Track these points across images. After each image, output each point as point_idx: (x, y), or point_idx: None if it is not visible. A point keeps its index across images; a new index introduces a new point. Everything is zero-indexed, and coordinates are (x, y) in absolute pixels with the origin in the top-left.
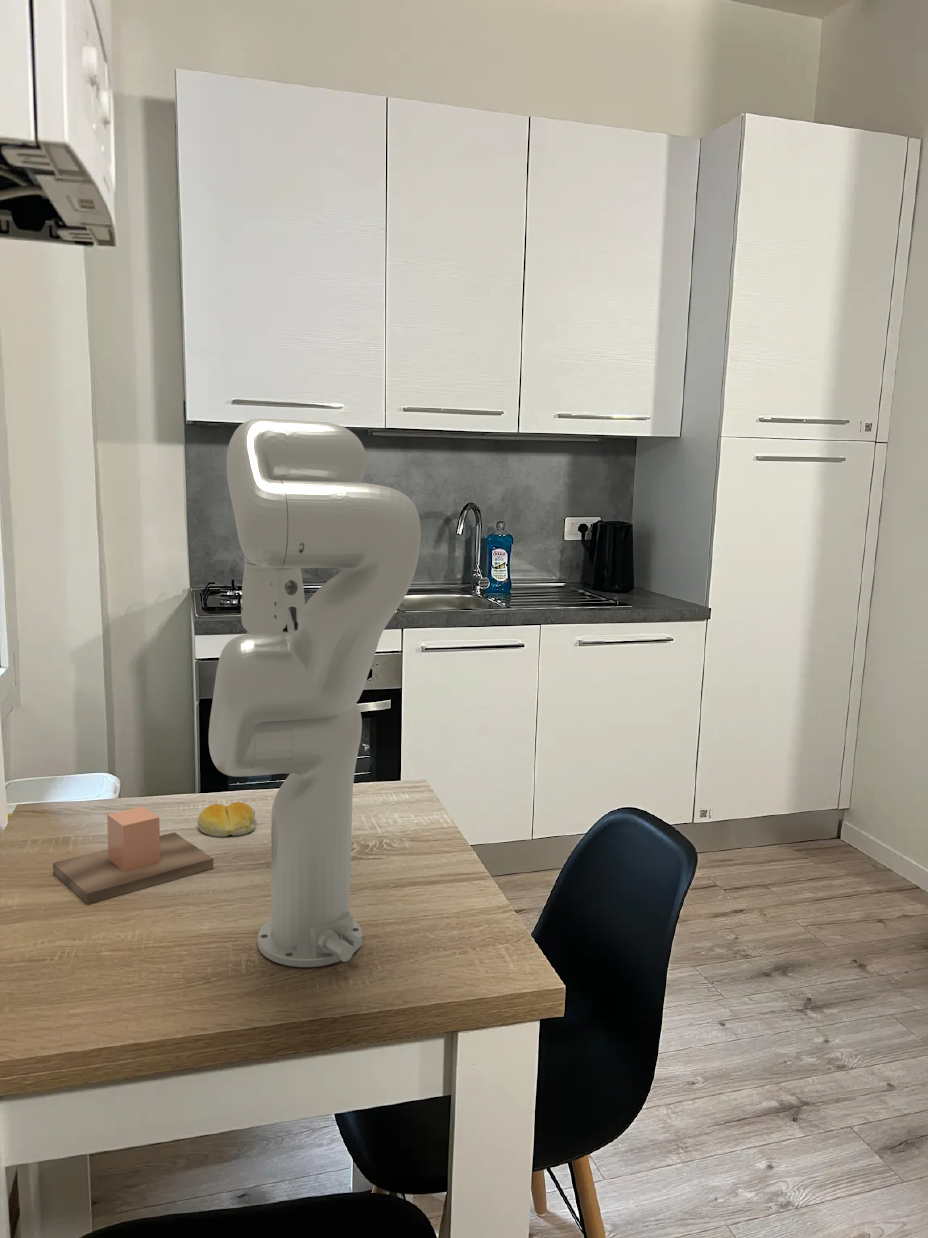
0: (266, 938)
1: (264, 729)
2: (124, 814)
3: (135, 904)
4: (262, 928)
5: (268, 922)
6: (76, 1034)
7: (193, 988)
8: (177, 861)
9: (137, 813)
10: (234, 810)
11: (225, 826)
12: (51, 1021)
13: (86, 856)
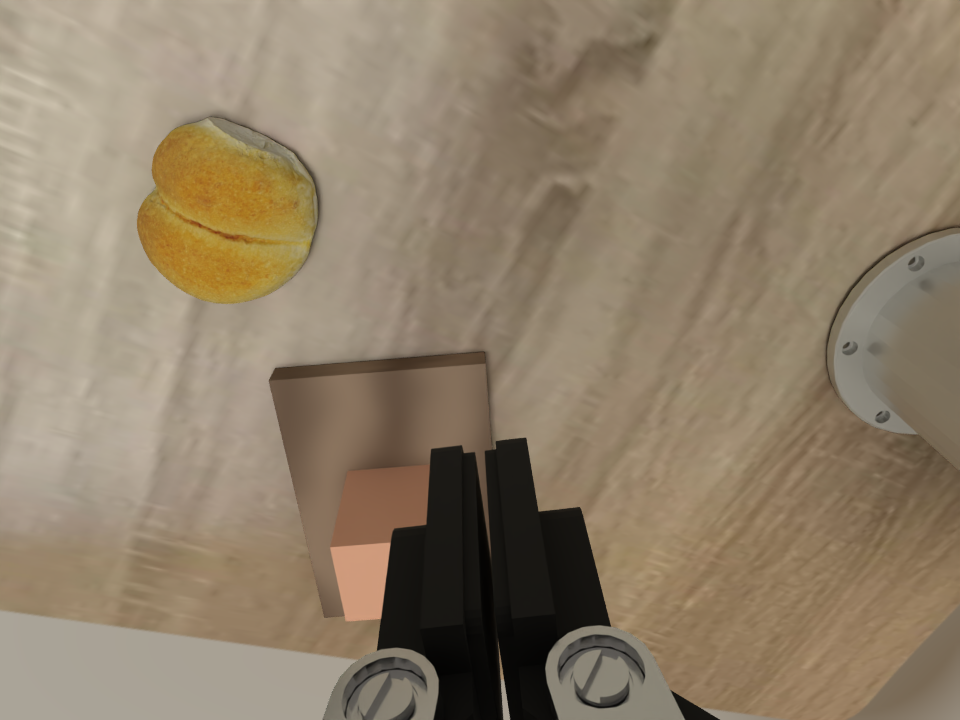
0: (892, 416)
1: None
2: (366, 594)
3: None
4: (855, 407)
5: (843, 387)
6: (860, 673)
7: (888, 541)
8: (454, 434)
9: (375, 570)
10: (251, 222)
11: (297, 256)
12: (808, 687)
13: (323, 567)
